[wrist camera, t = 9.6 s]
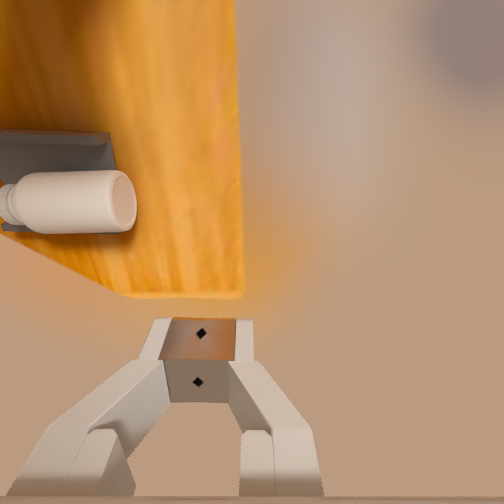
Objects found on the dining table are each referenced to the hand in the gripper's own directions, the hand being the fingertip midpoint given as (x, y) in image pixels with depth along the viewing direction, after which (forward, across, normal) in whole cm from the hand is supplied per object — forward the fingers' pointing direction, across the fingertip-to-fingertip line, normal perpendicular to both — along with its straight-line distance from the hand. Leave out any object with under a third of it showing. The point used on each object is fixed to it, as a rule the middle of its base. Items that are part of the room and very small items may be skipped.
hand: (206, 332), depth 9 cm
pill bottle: (+28, +14, +6) cm, 32 cm away
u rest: (+33, +25, +5) cm, 42 cm away
